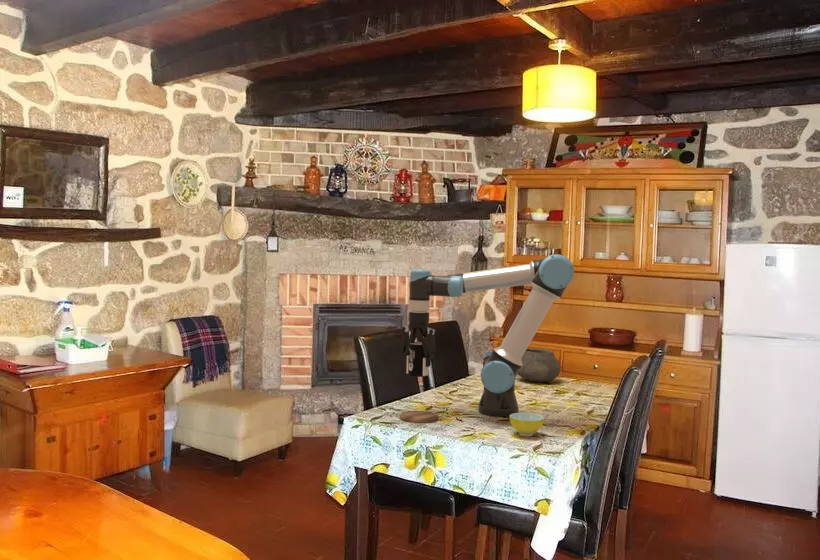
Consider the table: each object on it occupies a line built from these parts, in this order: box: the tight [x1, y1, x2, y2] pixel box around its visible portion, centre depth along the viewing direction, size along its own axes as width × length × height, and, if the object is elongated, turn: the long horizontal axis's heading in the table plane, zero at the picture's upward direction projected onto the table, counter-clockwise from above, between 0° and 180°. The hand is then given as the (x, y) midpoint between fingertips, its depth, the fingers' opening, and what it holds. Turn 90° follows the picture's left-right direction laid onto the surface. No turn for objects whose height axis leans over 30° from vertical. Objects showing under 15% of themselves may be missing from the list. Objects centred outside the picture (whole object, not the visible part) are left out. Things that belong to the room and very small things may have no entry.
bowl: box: [509, 412, 545, 437], centre depth 234 cm, size 11×12×6 cm
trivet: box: [399, 410, 440, 424], centre depth 253 cm, size 14×14×1 cm
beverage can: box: [408, 341, 425, 378], centre depth 258 cm, size 7×7×12 cm
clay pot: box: [517, 347, 562, 383], centre depth 335 cm, size 22×21×15 cm
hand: (417, 374), depth 258 cm, fingers closed on beverage can, 7 cm apart
